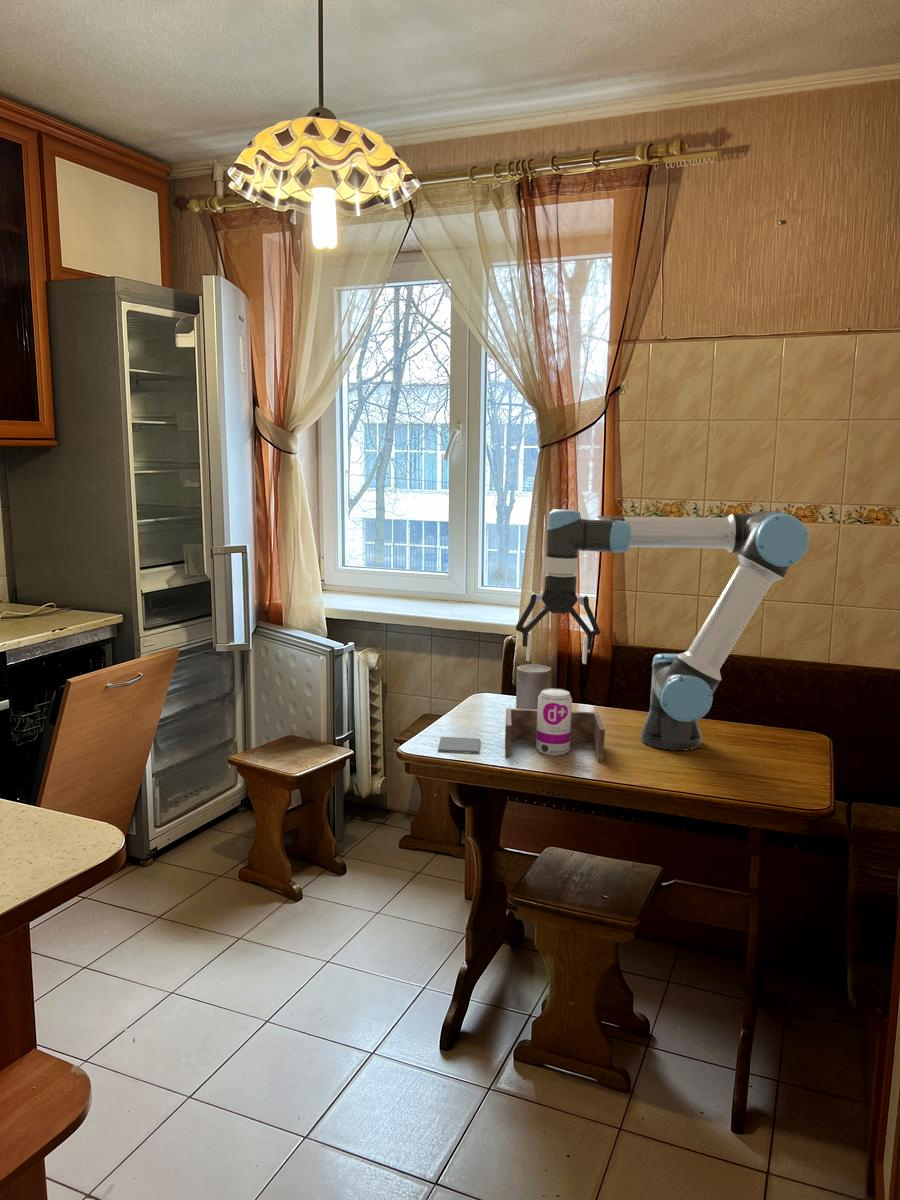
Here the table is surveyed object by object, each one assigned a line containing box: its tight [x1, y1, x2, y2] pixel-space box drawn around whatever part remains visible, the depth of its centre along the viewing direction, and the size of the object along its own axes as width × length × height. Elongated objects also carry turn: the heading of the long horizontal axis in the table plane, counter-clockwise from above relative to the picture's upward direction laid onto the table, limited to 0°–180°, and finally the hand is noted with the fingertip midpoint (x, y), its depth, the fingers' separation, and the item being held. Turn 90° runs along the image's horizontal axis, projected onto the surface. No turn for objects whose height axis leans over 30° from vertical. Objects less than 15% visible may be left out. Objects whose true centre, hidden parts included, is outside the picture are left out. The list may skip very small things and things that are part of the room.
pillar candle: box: [515, 663, 552, 710], centre depth 251 cm, size 10×10×15 cm
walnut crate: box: [504, 707, 606, 763], centre depth 221 cm, size 23×15×8 cm, turn 87°
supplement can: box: [535, 688, 573, 757], centre depth 220 cm, size 8×8×15 cm
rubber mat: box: [437, 736, 481, 754], centre depth 223 cm, size 10×10×1 cm
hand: (555, 661), depth 218 cm, fingers open, 13 cm apart
